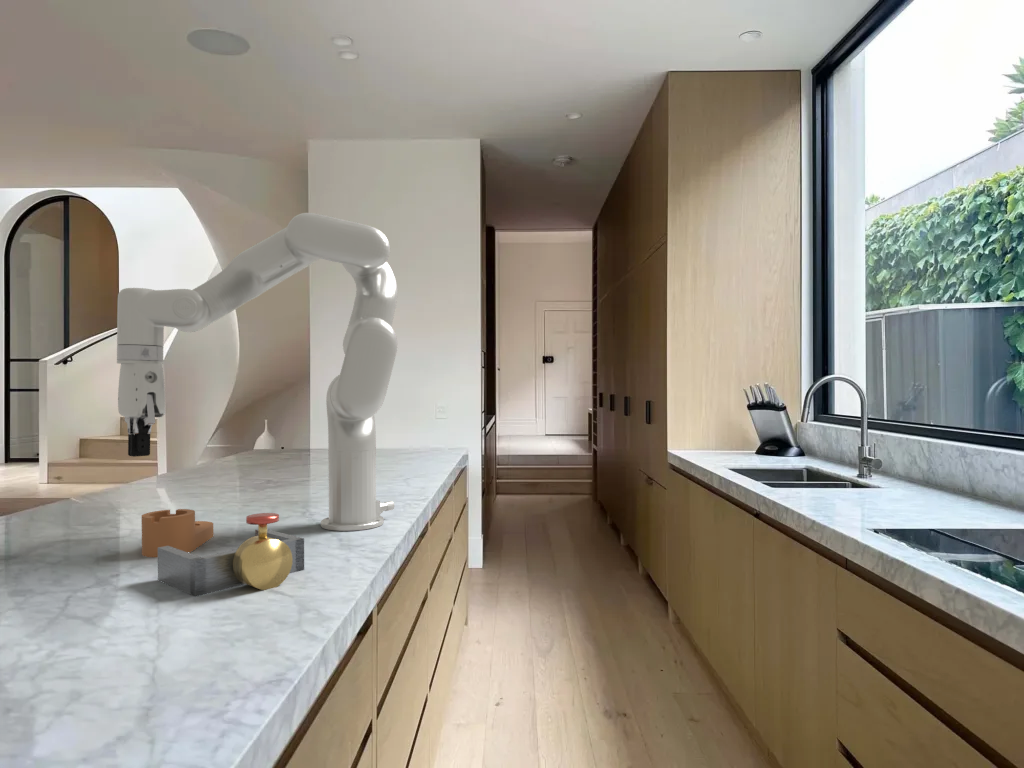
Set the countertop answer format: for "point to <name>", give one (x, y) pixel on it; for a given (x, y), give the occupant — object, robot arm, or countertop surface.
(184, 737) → the countertop surface
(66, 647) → the countertop surface
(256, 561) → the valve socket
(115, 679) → the countertop surface
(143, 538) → the bracket
